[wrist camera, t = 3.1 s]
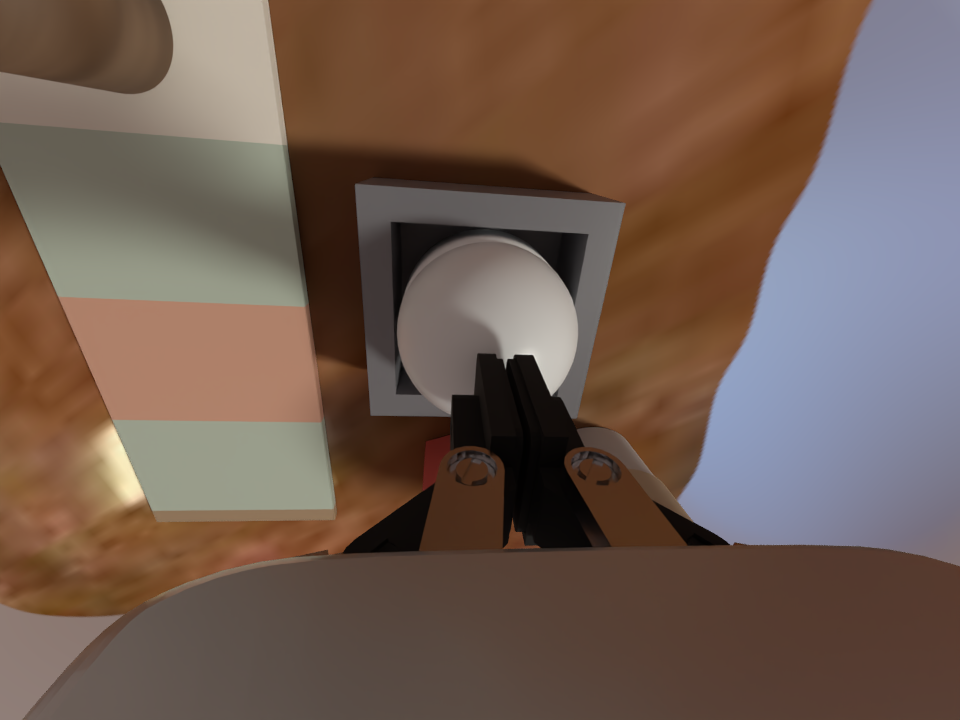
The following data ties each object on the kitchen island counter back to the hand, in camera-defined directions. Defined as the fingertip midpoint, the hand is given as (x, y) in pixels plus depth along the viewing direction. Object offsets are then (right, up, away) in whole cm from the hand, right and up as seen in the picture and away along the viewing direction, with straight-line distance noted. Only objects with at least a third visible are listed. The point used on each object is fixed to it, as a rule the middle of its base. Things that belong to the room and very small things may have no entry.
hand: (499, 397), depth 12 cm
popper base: (-1, +5, +8) cm, 10 cm away
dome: (-1, +4, +7) cm, 8 cm away
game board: (-15, +4, +7) cm, 17 cm away
